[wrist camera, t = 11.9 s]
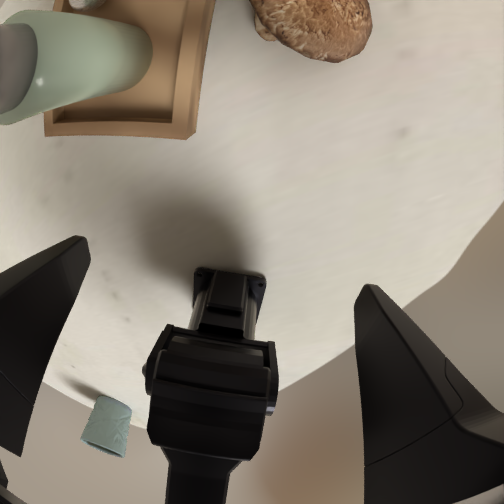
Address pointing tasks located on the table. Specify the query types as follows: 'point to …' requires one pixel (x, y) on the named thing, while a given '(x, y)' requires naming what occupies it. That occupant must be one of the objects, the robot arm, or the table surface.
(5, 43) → the disc
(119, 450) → the grey-green cup
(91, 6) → the ball
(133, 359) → the table surface
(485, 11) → the table surface
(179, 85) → the tray
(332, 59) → the mushroom
